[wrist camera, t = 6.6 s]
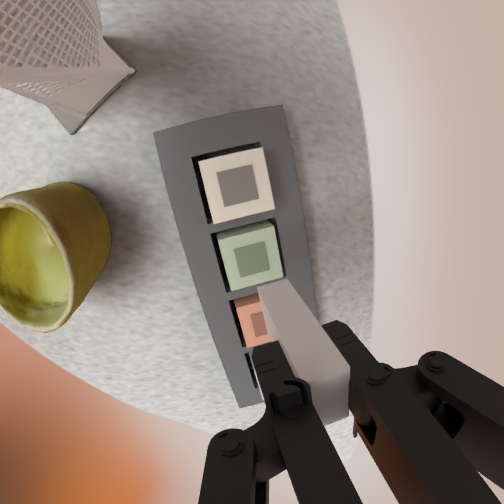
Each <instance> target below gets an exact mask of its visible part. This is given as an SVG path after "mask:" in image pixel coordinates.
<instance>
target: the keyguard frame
mask: <svg viewBox="0 0 504 504" xmlns="http://www.w3.org/2000/svg"><path fill="white" fill-rule="evenodd" d="M153 134H154V138H155V142H156V147H157V151H158V155H159V159H160V163H161V167H162V172H163V175H164V179H165V183H166V187H167V191H168V195H169V199H170V202H171V206H172V210H173V213H174V217H175V221H176V224H177V228H178V231H179V235H180V238H181V241H182V245H183V248H184V251H185V255H186V258H187V261H188V265H189V268H190V271H191V274H192V277H193V281H194V284H195V287H196V290H197V293H198V296H199V299H200V302H201V305H202V308H203V311H204V314H205V317H206V320H207V323H208V325H209V328H210V331H211V334H212V337H213V340H214V342H215V345H216V348H217V351H218V353H219V356H220V359H221V362H222V364H223V367H224V369H225V372H226V375H227V377H228V380H229V382H230V385H231V388H232V390H233V393H234V395H235V398H236V400H237V403H238V405H239V408H243V407H247V406H251V405H254V404H258V403H262V402H265V401H264V400H263V399H262V396H261V392H260V389H259V386H258V382H257V379H256V376H255V372H250V369H249V366H248V363H247V360H246V356H245V353H248V352H252V351H253V348H254V347H256V346H260V345H263V344H267V343H270V342H271V341H270V342H267V343H263V344H260V345H256V346H252V347H249V348H247V345H246V342H245V338H244V335H243V331H239V332H238V330H237V326H236V323H235V319H234V316H233V312H232V309H231V305H230V302H229V301H230V300H233V299H237V298H241V297H244V296H248V295H252V294H255V293H258V290H257V287H259V286H262V285H266V284H270V283H273V282H277V281H280V280H284V279H288V280H289V282H290V283H291V285H292V286H293V287H294V289H295V290H296V292H297V293H298V294H299V296H300V297H301V298H302V300H303V301H304V303H305V304H306V305H307V307H308V308H309V310H310V311H311V312H312V314H313V315H314V317H315V318H316V319H317V321H318V318H317V309H316V300H315V292H314V284H313V276H312V269H311V262H310V255H309V248H308V241H307V234H306V228H305V221H304V215H303V209H302V203H301V197H300V191H299V186H298V180H297V175H296V169H295V164H294V159H293V153H292V148H291V143H290V138H289V133H288V129H287V124H286V119H285V114H284V110H283V105H278V106H271V107H264V108H258V109H252V110H247V111H241V112H236V113H231V114H226V115H221V116H216V117H212V118H207V119H203V120H199V121H194V122H190V123H186V124H183V125H179V126H175V127H171V128H168V129H164V130H161V131H157V132H154V133H153ZM251 143H254V148H262V147H263V152H264V156H265V161H266V166H267V171H268V176H269V181H270V186H271V191H272V196H273V201H274V206H275V209H273V210H269V211H264V212H260V213H256V214H252V215H248V216H244V217H240V218H236V219H232V220H228V221H224V222H221V223H217V224H213V220H212V216H209V217H206V213H205V209H204V205H203V201H202V197H201V193H200V189H199V185H198V181H197V177H196V173H195V169H194V164H193V160H192V157H195V156H199V155H203V154H207V153H211V152H215V151H219V150H223V149H228V148H232V147H237V146H242V145H247V144H251ZM266 219H269V221H270V223H271V224H272V225H273V226H274V229H275V234H276V240H277V245H278V250H279V256H280V261H281V266H282V272H283V277H281V278H278V279H274V280H271V281H267V282H264V283H260V284H256V285H253V286H249V287H245V288H242V289H238V290H234V291H231V288H230V285H229V281H228V279H224V280H223V277H222V273H221V270H220V266H219V262H218V259H217V255H216V251H215V248H214V244H213V240H212V236H211V233H215V232H219V231H223V230H226V229H230V228H234V227H238V226H242V225H246V224H250V223H254V222H258V221H262V220H266Z"/></svg>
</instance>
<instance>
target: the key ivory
mask: <svg viewBox="0 0 504 504" xmlns="http://www.w3.org/2000/svg"><path fill="white" fill-rule="evenodd" d="M198 162H199V167H200V171H201V175H202V179H203V183H204V188H205V192H206V196H207V200H208V204H209V208H210V212H211V216H212V220H213V224H217V223H221V222H224V221H228V220H232V219H236V218H240V217H244V216H248V215H252V214H256V213H260V212H264V211H269V210H273V209H275V206H274V201H273V196H272V191H271V186H270V181H269V176H268V171H267V166H266V161H265V156H264V152H263V147H262V148H254V149H249V150H244V151H239V152H235V153H230V154H226V155H222V156H217V157H213V158H209V159H205V160H201V161H198Z"/></svg>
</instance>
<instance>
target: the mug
mask: <svg viewBox="0 0 504 504" xmlns="http://www.w3.org/2000/svg"><path fill="white" fill-rule="evenodd" d="M110 248H111V231H110V225H109V221H108V218H107V215H106V213H105V212H104V210H103V208H102V206H101V204H100V202H99V201H98V199H97V198H96V197H95V196H94V195H93V194H92V193H90V192H89V191H88V190H87V189H85V188H83V187H81V186H79V185H76V184H73V183H66V182H58V183H53V184H49V185H46V186H44V187H42V188H37V189H32V190H27V191H21V192H17V193H13V194H9V195H7V196H4V197H2V198H1V199H0V309H1V310H2V311H3V312H4V313H5V314H6V316H7V317H8V318H10V319H11V320H12V321H14V322H15V323H16V324H18V325H20V326H22V327H24V328H27V329H29V330H32V331H37V332H44V333H47V332H51V331H54V330H56V329H58V328H59V327H61V326H62V325H64V324H65V323H66V322H67V320H68V319H69V318H70V317H71V315H72V314H73V313H74V311H75V310H76V309H77V308H78V307H79V306H80V304H81V303H82V302H83V301H84V298H85V297H86V295H87V294H88V292H89V290H90V289H91V287H92V286H93V284H94V282H95V281H96V279H97V277H98V276H99V274H100V273H101V272H102V270H103V268H104V266H105V264H106V262H107V260H108V256H109V253H110Z"/></svg>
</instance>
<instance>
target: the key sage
mask: <svg viewBox="0 0 504 504" xmlns="http://www.w3.org/2000/svg"><path fill="white" fill-rule="evenodd" d="M216 235H217V239H218V243H219V247H220V251H221V255H222V258H223V262H224V266H225V270H226V274H227V277H228V281H229V285H230V288H231V291H234V290H238V289H242V288H245V287H249V286H253V285H256V284H260V283H264V282H267V281H271V280H274V279H278V278H281V277H283V272H282V266H281V261H280V256H279V250H278V245H277V240H276V234H275V229H274V226H273V225H272V224H271V223H270V222H269V221H268V220H267V219H266V220H262V221H258V222H254V223H250V224H246V225H242V226H238V227H234V228H230V229H226V230H223V231H219V232H216Z"/></svg>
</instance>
